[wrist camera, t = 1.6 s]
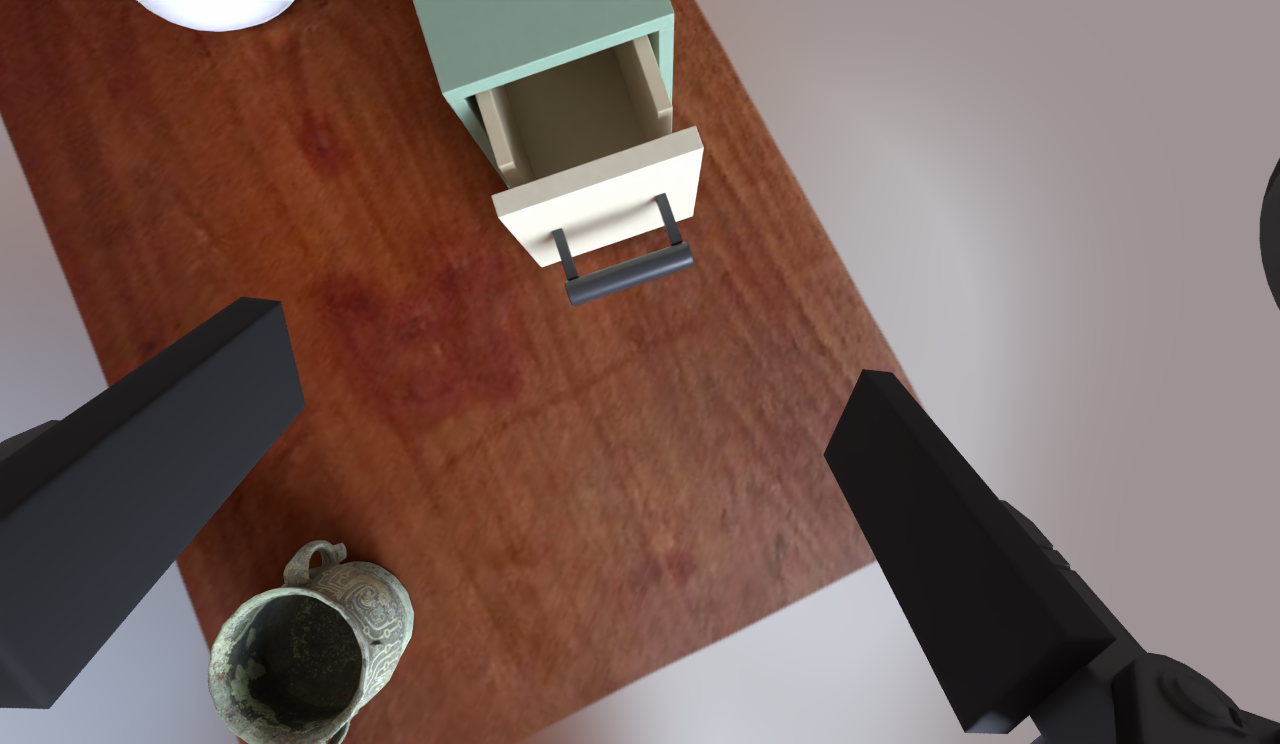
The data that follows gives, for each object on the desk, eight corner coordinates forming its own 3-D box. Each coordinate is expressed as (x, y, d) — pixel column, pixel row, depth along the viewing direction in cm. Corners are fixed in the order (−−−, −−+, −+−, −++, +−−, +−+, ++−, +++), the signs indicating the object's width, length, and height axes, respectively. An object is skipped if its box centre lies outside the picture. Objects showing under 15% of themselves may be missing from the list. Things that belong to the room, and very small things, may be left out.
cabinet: (671, 133, 35) (674, 13, 24) (508, 189, 35) (441, 94, 24) (604, -58, 36) (580, -253, 25) (447, -3, 36) (358, -173, 25)
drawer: (714, 278, 33) (733, 231, 24) (561, 329, 33) (524, 301, 24) (628, 29, 34) (616, -100, 26) (481, 80, 34) (419, -31, 26)
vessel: (282, 536, 34) (196, 565, 28) (413, 518, 34) (356, 543, 27) (299, 725, 33) (214, 799, 27) (433, 708, 33) (379, 779, 26)
